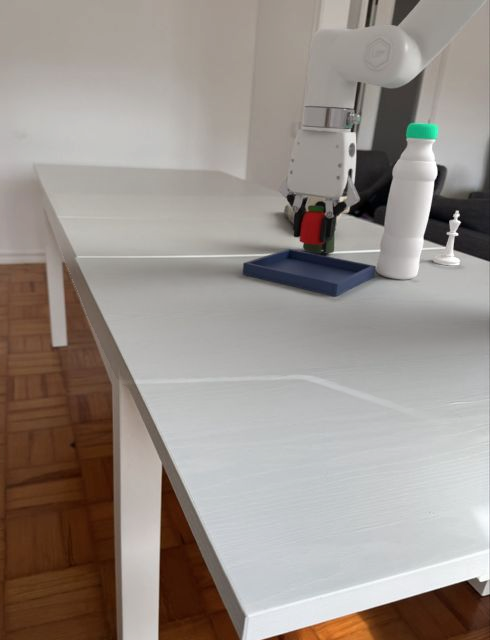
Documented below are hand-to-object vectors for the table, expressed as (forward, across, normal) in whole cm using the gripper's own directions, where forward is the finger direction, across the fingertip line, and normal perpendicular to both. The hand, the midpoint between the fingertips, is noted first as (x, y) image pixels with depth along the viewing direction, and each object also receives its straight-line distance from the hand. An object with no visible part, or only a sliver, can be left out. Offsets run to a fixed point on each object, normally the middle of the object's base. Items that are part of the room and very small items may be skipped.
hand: (312, 237), depth 92 cm
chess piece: (+7, -15, -29) cm, 33 cm away
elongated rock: (+7, +23, -43) cm, 49 cm away
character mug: (+7, +7, -17) cm, 20 cm away
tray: (+7, 0, 0) cm, 7 cm away
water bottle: (+7, -11, -12) cm, 18 cm away
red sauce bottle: (+1, 0, 0) cm, 1 cm away
